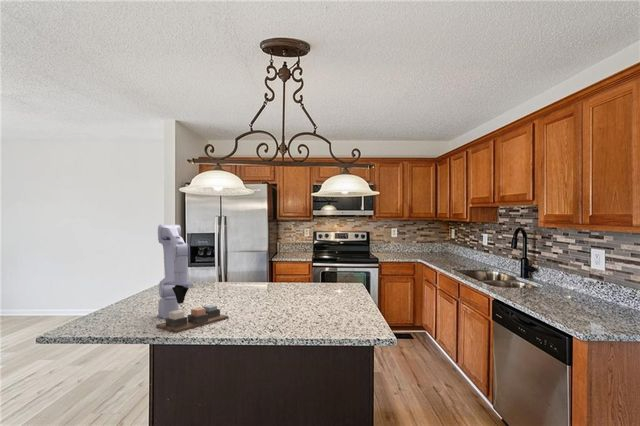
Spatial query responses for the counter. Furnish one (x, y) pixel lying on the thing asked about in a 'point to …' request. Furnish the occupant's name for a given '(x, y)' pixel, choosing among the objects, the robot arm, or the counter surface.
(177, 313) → the cream cube
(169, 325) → the brown socket board
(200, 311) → the salmon pink cube
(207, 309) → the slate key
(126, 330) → the counter surface
